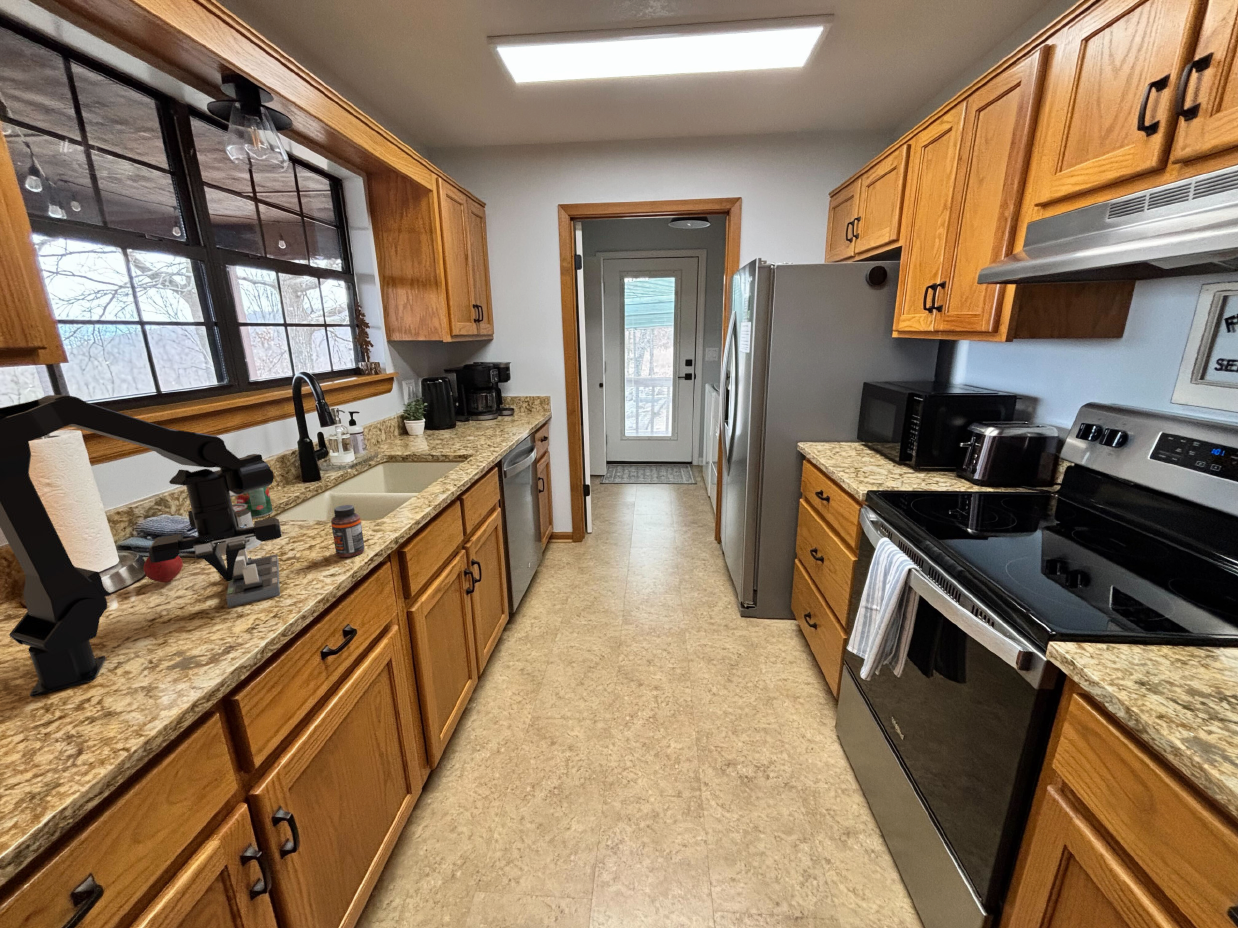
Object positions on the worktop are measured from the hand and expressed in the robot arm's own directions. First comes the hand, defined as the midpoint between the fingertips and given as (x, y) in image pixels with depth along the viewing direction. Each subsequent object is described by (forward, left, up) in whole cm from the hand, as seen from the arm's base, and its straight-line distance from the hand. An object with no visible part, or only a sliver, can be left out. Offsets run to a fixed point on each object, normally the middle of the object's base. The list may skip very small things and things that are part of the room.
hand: (229, 580), depth 94 cm
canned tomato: (+58, -3, -4) cm, 58 cm away
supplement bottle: (+11, -21, -4) cm, 24 cm away
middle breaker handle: (+6, -1, -2) cm, 6 cm away
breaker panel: (+6, -3, -4) cm, 8 cm away
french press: (+32, +2, -4) cm, 32 cm away
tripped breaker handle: (0, -3, -2) cm, 4 cm away
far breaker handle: (+12, -1, -2) cm, 12 cm away
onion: (+17, +12, -4) cm, 21 cm away
